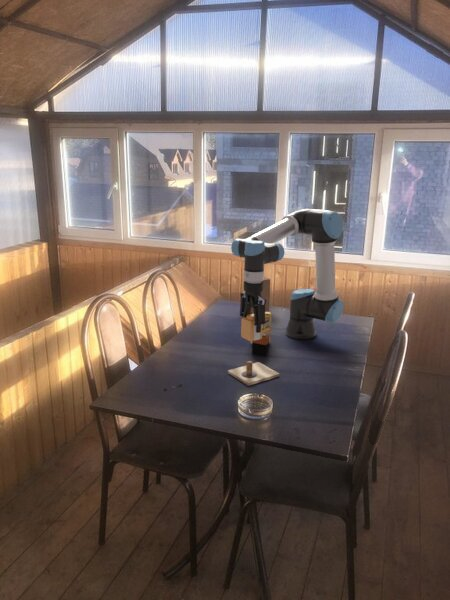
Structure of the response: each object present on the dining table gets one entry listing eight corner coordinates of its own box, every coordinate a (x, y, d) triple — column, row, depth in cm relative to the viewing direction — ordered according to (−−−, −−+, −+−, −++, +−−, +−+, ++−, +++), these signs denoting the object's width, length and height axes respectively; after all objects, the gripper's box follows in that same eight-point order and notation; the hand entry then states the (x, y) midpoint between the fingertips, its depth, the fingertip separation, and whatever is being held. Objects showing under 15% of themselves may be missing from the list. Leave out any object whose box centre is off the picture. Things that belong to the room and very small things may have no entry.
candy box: (254, 346, 236) (255, 315, 231) (250, 343, 239) (251, 313, 235) (270, 343, 239) (271, 313, 235) (266, 340, 243) (267, 310, 239)
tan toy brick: (252, 334, 203) (253, 312, 200) (261, 338, 198) (262, 316, 195) (240, 336, 199) (241, 314, 197) (249, 341, 195) (250, 319, 192)
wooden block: (269, 312, 285) (270, 278, 279) (254, 315, 280) (255, 281, 274) (259, 307, 293) (260, 275, 287) (245, 310, 288) (246, 277, 283)
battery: (265, 356, 224) (266, 336, 221) (251, 354, 227) (252, 333, 224) (268, 353, 228) (269, 333, 225) (255, 350, 230) (255, 330, 228)
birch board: (258, 364, 216) (258, 350, 214) (279, 376, 205) (279, 361, 203) (228, 373, 207) (228, 358, 205) (248, 385, 196) (248, 370, 194)
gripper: (231, 277, 198) (230, 331, 204) (261, 287, 183) (258, 346, 189) (246, 274, 202) (244, 328, 208) (276, 285, 187) (273, 342, 193)
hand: (251, 337), depth 199 cm, fingers closed on tan toy brick, 6 cm apart
